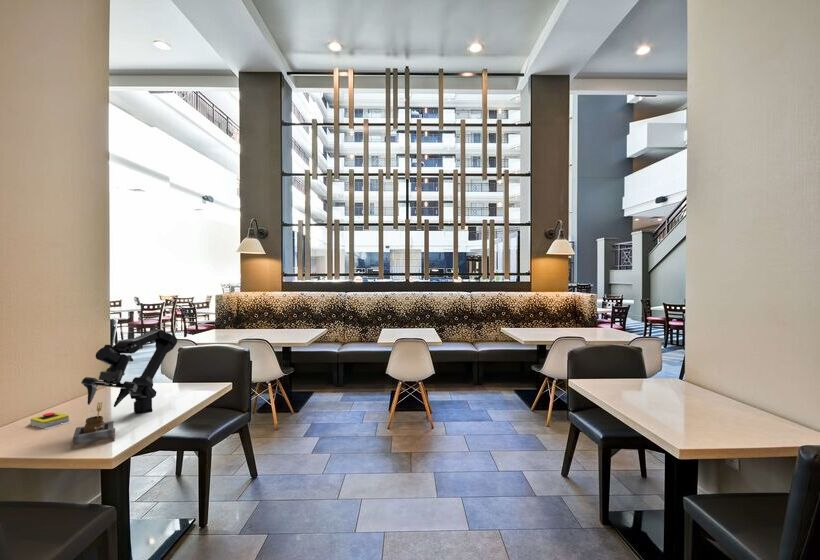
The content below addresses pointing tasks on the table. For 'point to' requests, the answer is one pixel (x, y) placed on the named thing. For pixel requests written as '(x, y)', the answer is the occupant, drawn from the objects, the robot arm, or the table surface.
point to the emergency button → (50, 420)
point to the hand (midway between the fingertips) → (101, 405)
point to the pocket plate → (93, 436)
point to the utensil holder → (94, 422)
